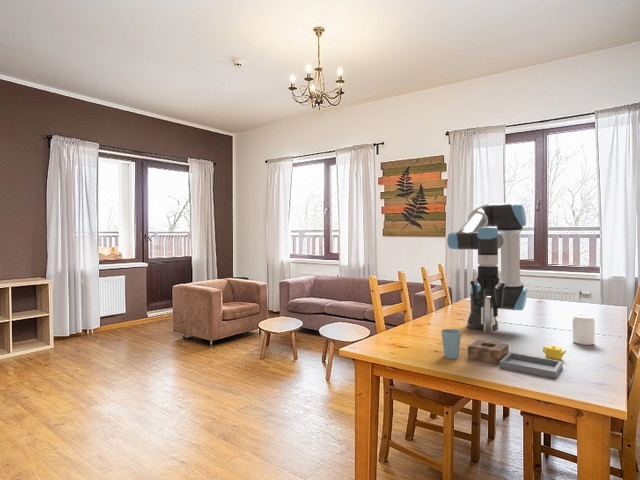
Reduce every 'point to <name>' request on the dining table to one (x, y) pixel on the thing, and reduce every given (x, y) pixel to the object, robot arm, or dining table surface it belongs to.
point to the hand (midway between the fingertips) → (488, 323)
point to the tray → (532, 365)
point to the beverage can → (583, 329)
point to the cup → (451, 342)
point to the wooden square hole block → (488, 351)
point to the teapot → (553, 352)
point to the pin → (487, 314)
